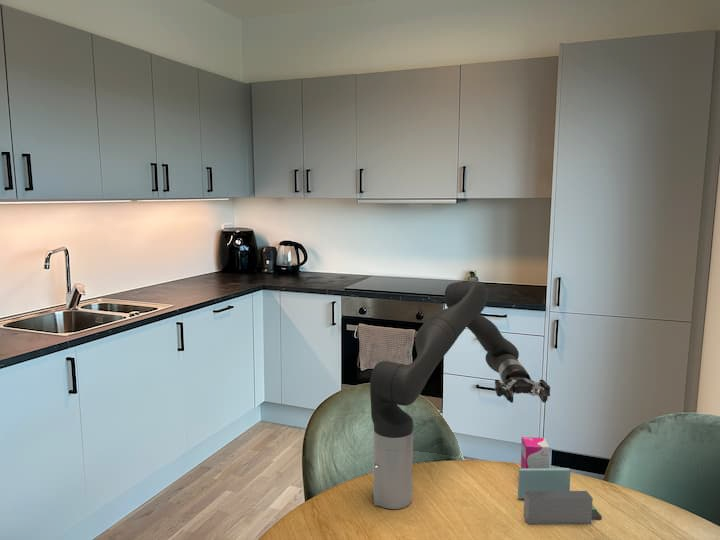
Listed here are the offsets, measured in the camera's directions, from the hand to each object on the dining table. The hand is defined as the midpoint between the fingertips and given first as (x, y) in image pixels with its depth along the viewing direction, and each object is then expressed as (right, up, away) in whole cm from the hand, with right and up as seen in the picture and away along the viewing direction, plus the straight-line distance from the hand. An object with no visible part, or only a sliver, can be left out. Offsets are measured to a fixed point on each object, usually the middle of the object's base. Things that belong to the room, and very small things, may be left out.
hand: (528, 399), depth 139 cm
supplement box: (-1, -20, -7) cm, 21 cm away
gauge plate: (+1, -20, -14) cm, 24 cm away
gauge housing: (+1, -21, -18) cm, 28 cm away
